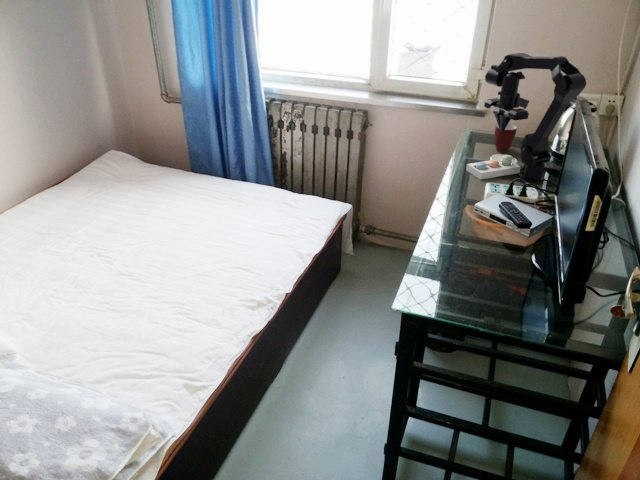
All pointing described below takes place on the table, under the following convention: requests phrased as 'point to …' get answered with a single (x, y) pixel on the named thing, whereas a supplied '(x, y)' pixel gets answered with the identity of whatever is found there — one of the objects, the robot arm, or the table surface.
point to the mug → (504, 137)
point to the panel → (492, 170)
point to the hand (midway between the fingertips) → (501, 131)
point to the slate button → (481, 166)
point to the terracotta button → (493, 164)
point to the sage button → (506, 160)
